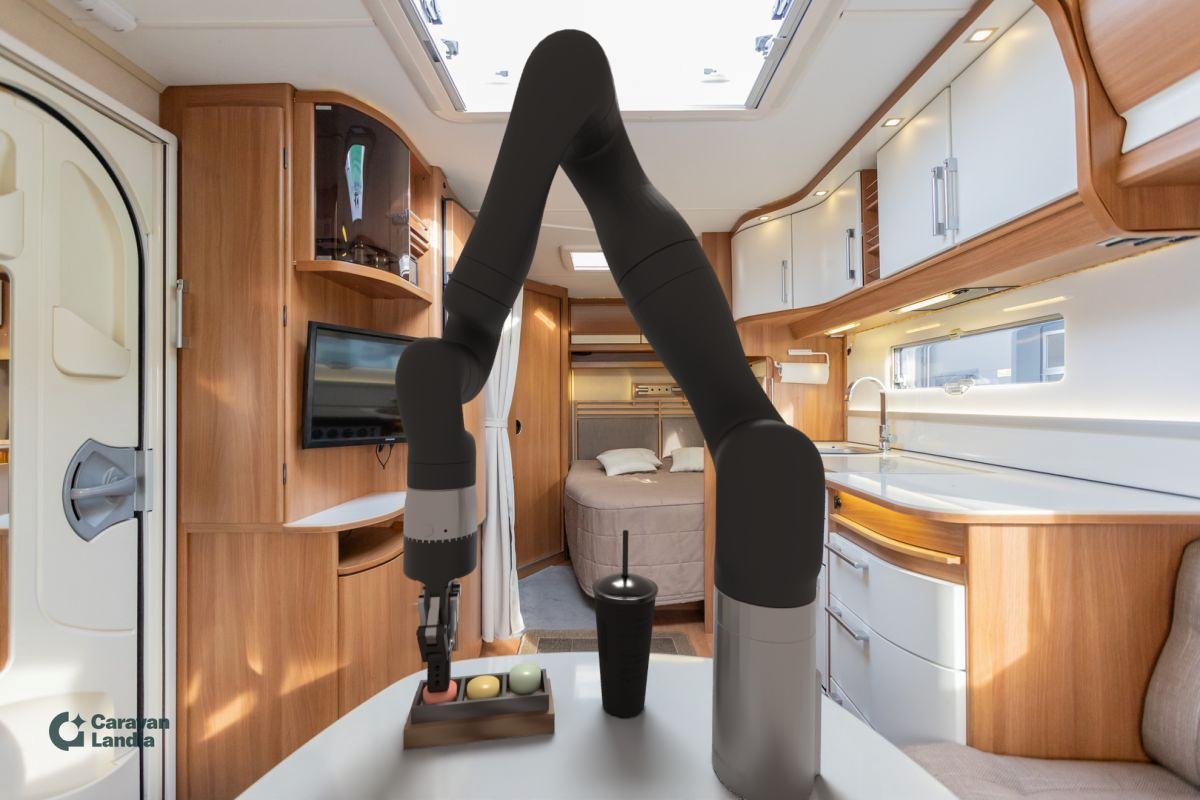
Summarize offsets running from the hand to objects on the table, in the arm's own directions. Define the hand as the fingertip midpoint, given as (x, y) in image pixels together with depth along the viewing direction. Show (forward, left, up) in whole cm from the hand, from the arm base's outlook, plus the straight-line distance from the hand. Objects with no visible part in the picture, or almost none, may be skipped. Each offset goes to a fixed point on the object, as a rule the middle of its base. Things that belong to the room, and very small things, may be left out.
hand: (439, 688), depth 51 cm
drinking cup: (-19, +6, -4) cm, 21 cm away
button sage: (-9, +3, -1) cm, 9 cm away
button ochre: (-4, +1, -2) cm, 5 cm away
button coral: (0, 0, -2) cm, 2 cm away
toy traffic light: (-4, +1, -4) cm, 6 cm away
